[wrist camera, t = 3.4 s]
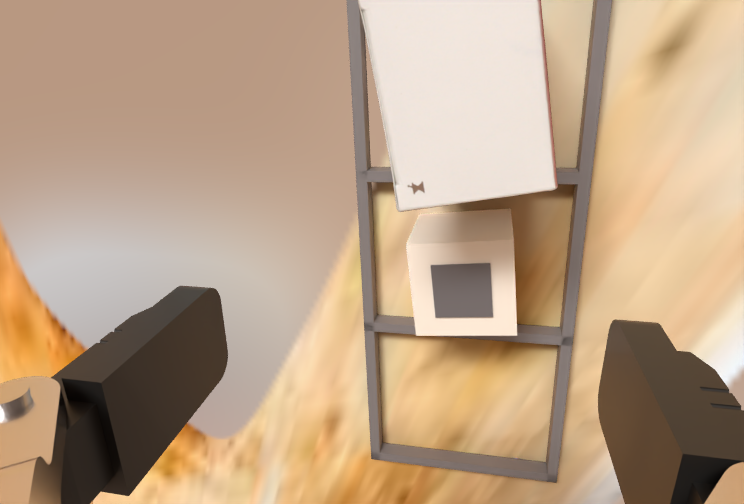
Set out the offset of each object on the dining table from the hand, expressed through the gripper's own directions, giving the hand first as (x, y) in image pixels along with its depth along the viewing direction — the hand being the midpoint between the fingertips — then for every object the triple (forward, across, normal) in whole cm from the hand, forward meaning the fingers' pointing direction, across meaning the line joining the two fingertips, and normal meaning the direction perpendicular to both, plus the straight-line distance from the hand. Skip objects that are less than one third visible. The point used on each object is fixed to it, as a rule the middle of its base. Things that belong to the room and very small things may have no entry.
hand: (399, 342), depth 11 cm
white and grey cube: (+19, -1, +5) cm, 20 cm away
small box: (+19, -1, -4) cm, 20 cm away
